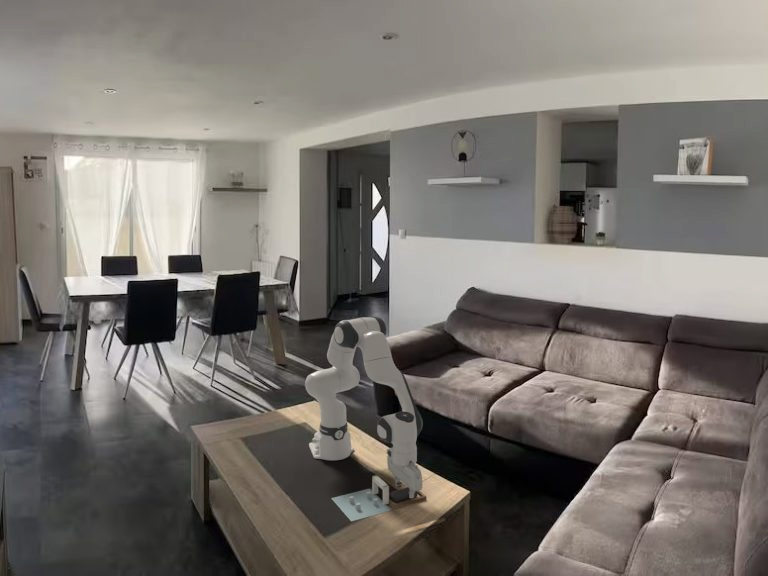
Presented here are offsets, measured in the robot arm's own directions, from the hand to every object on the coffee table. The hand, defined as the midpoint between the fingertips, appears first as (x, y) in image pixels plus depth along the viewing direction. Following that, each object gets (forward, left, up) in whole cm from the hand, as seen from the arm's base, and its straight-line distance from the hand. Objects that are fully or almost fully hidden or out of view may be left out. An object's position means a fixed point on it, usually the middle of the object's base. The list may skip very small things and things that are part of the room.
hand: (404, 491), depth 220 cm
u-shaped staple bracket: (-4, -8, -3) cm, 9 cm away
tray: (0, 0, -4) cm, 4 cm away
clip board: (-4, -16, -4) cm, 17 cm away
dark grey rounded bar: (0, 0, -3) cm, 3 cm away
